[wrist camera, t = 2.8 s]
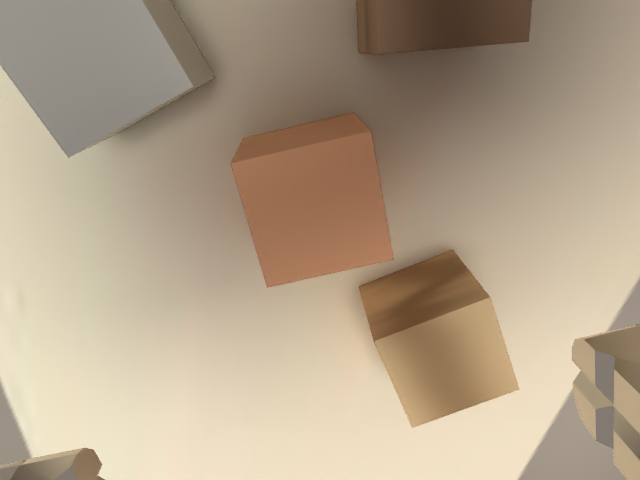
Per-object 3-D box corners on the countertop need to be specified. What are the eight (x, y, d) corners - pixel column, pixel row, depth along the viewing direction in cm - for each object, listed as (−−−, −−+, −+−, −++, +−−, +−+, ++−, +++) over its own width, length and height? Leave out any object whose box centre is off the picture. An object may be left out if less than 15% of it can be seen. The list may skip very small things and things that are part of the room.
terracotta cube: (353, 112, 21) (370, 130, 17) (373, 216, 23) (393, 259, 19) (243, 137, 22) (230, 163, 17) (271, 239, 23) (267, 287, 19)
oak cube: (452, 249, 24) (490, 297, 20) (478, 328, 26) (519, 389, 21) (358, 285, 25) (373, 341, 20) (390, 361, 26) (412, 427, 22)
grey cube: (146, -43, 19) (98, -73, 14) (215, 77, 21) (193, 86, 16) (41, 21, 19) (-37, 14, 15) (117, 133, 21) (68, 157, 17)
